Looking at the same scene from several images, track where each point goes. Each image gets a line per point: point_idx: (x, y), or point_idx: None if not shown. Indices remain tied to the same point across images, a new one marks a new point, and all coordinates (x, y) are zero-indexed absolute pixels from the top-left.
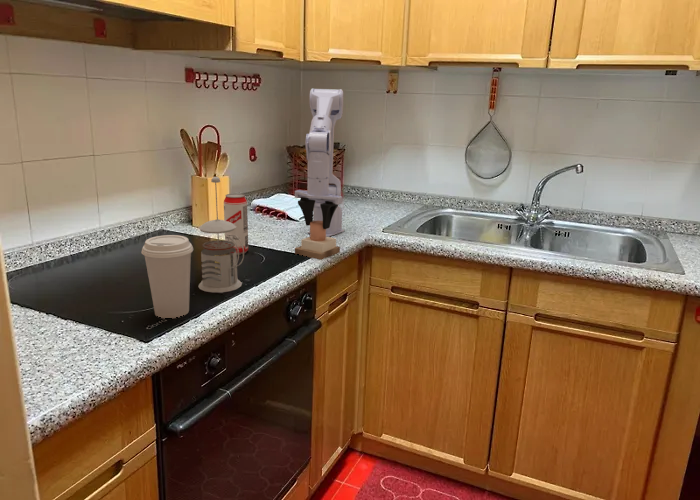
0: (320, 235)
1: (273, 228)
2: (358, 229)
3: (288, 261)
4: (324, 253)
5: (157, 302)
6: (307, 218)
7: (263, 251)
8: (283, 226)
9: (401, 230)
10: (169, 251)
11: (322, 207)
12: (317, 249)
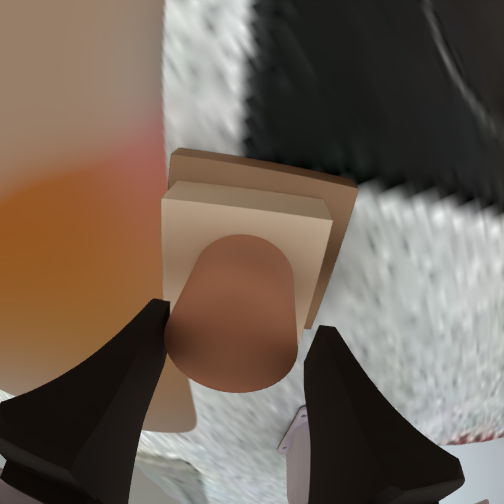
0: (198, 265)
1: (477, 393)
2: (250, 464)
3: (321, 47)
4: (169, 184)
5: None
6: (331, 368)
7: (485, 161)
8: (453, 415)
9: (158, 468)
10: None
11: (63, 431)
12: (208, 188)
